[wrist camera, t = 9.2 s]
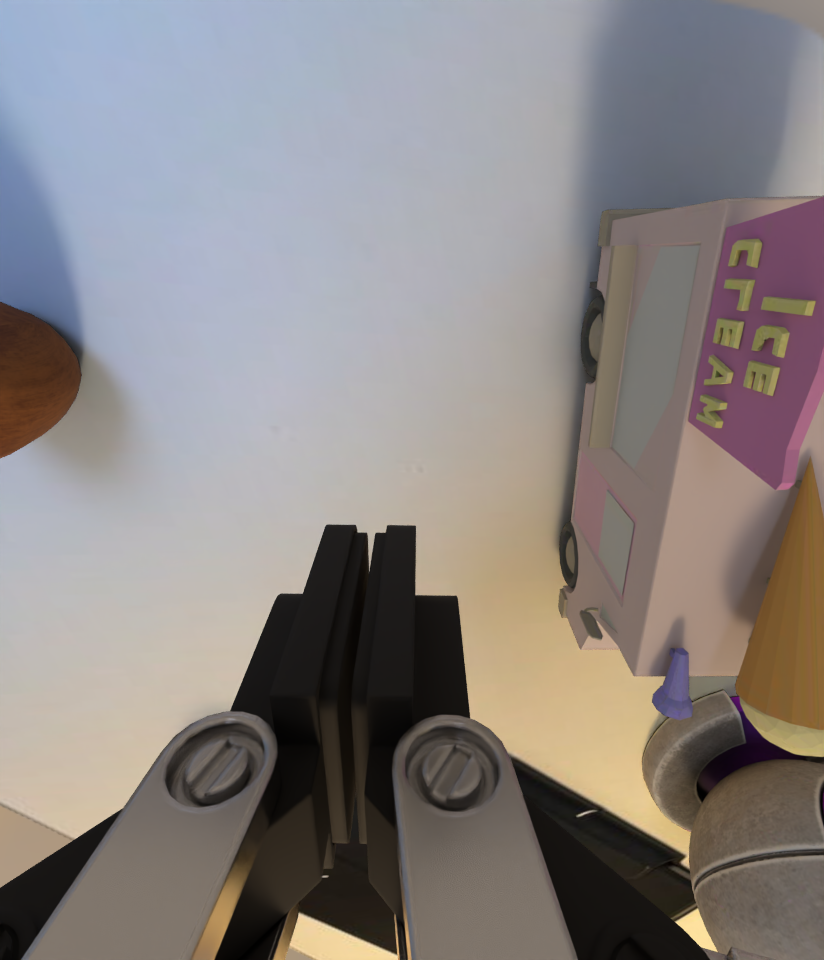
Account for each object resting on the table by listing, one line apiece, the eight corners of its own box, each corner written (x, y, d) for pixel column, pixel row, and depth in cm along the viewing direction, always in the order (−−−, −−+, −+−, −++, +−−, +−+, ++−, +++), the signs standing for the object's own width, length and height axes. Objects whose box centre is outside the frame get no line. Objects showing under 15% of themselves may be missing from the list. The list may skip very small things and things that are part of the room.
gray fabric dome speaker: (879, 723, 34) (1189, 1042, 20) (754, 836, 39) (936, 1155, 25) (714, 661, 32) (932, 965, 18) (605, 787, 37) (713, 1103, 23)
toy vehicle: (537, 588, 30) (633, 866, 16) (570, 215, 22) (805, 150, 9) (697, 586, 30) (930, 868, 16) (786, 209, 22) (1384, 132, 8)
